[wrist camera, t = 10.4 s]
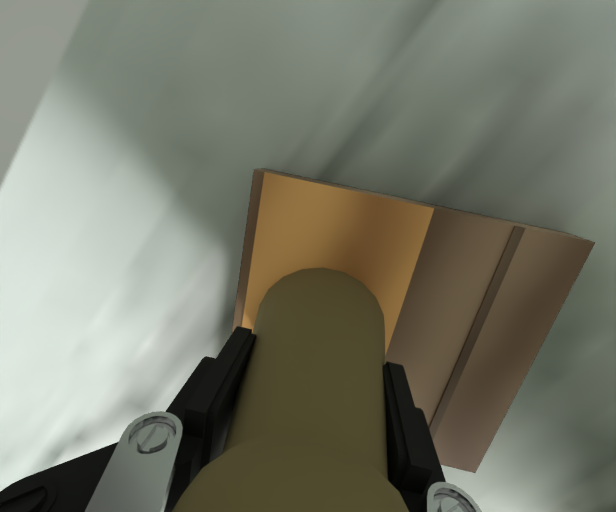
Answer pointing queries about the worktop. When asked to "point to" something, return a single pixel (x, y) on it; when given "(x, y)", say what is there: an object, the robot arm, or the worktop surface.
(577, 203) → the worktop surface
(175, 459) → the robot arm
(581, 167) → the worktop surface
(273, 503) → the cork
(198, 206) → the worktop surface
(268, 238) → the board
